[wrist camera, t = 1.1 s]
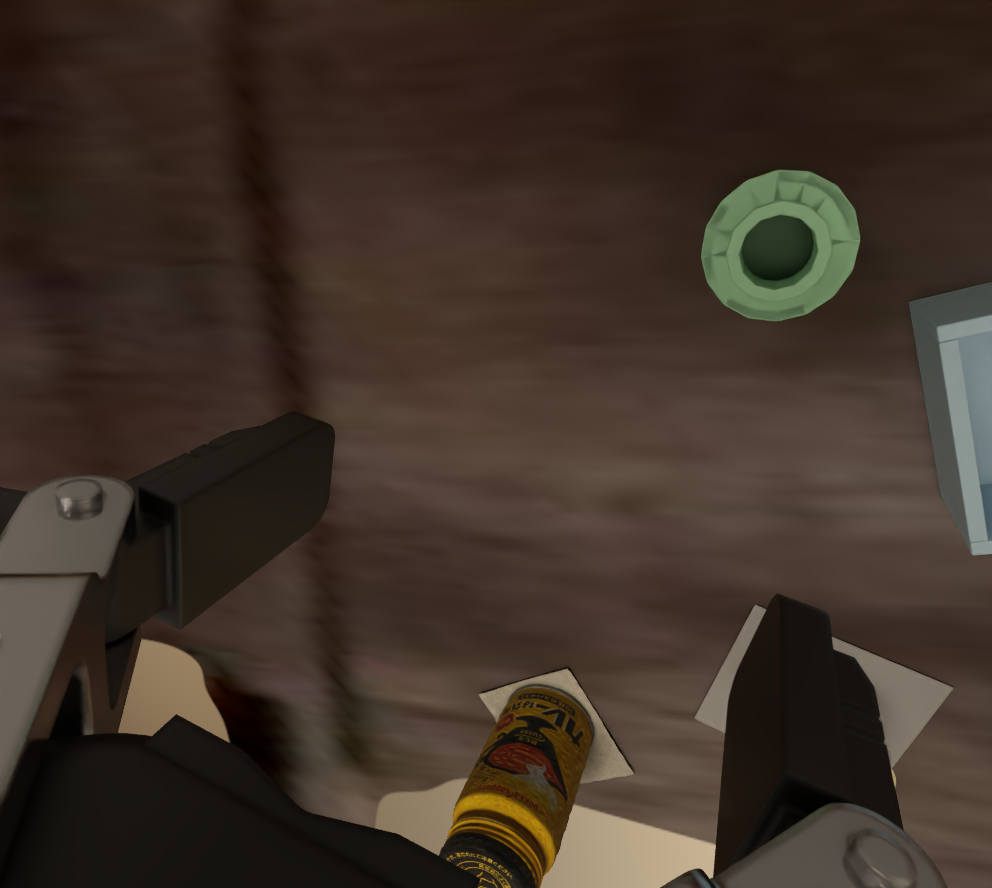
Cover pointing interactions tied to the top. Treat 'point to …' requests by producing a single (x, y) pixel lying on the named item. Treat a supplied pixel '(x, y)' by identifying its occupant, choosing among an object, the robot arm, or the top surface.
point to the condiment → (529, 780)
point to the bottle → (780, 245)
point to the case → (959, 403)
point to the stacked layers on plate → (897, 688)
